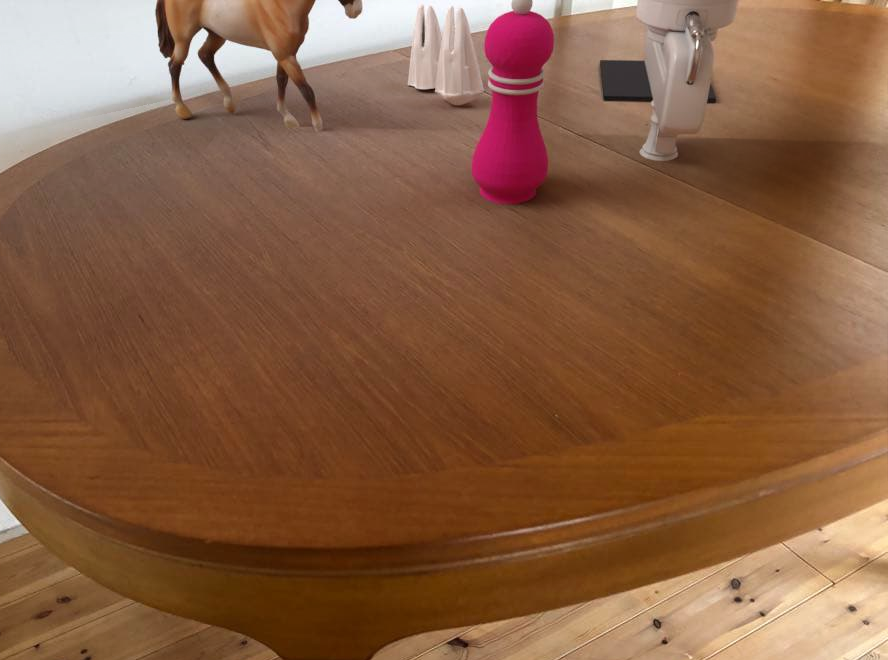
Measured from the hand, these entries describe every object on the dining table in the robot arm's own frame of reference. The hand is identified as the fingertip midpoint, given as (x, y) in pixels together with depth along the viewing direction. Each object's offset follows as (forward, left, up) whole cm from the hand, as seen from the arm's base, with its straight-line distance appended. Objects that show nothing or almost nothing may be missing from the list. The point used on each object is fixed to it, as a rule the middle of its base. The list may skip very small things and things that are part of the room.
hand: (661, 142), depth 91 cm
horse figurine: (+45, -12, -3) cm, 47 cm away
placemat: (-2, -26, -3) cm, 26 cm away
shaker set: (+24, -20, -3) cm, 31 cm away
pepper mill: (+15, +10, -3) cm, 18 cm away
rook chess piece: (0, 0, -3) cm, 3 cm away
